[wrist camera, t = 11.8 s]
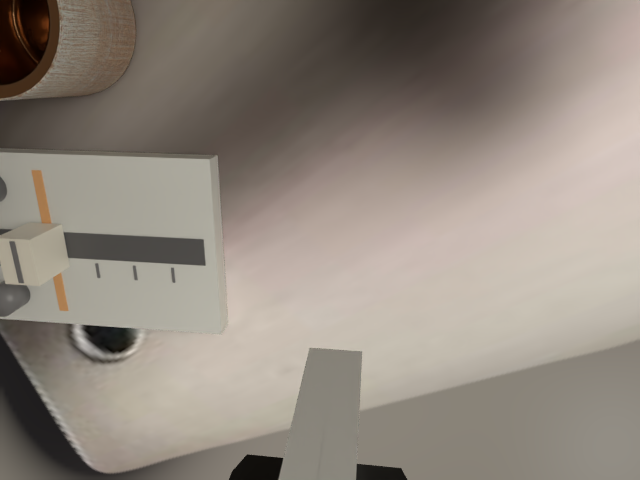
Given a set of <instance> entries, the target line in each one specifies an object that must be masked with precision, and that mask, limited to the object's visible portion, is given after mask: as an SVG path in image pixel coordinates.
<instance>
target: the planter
mask: <svg viewBox="0 0 640 480" xmlns="http://www.w3.org/2000/svg"><path fill="white" fill-rule="evenodd" d="M135 41H136V22H135V16H134V11H133V7H132V4H131V1H130V0H0V101H4V100H19V99H33V98H51V97H70V96H85V95H90V94H94V93H97V92H100V91H102V90H104V89H106V88H108V87H110V86H111V85H113V84H114V83H115V82H116V81H117V80H118V79H119V78H120V77H121V76H122V75H123V73H124V72H125V71H126V69H127V67H128V65H129V63H130V61H131V58H132V56H133V52H134V48H135Z"/></svg>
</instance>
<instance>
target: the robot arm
mask: <svg viewBox="0 0 640 480" xmlns="http://www.w3.org/2000/svg"><path fill="white" fill-rule="evenodd" d="M361 364H362V352H360V351H347V350H333V349H320V348H310V349H309V353H308V357H307V361H306V366H305V370H304V374H303V378H302V382H301V387H300V391H299V395H298V399H297V404H296V408H295V412H294V416H293V420H292V425H291V429H290V433H289V437H288V442H287V446H286V450H285V454H284V458H277V457H267V456H257V455H246V456H245V457H244V459H243V460H242V461H241V462H240V463H239V464H238V465H237V467H236V468H235V469H234V470H233V471H232V473H231V476H230V478H229V480H407V478H406V476H405V475H404V473H403V471H402V469H401V468H393V467H383V466H372V465H362V464H357V448H358V447H357V446H358V426H359V406H360V385H361Z"/></svg>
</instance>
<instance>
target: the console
mask: <svg viewBox="0 0 640 480" xmlns="http://www.w3.org/2000/svg"><path fill="white" fill-rule="evenodd" d="M29 222H30V223H50V224H62V227H63V233H64V238H65V243H66V249H67V254H68V260H69V265H70V267H69V268H67V269H66V270H64V271H62V272H61V273H59V274H58V275H56V276H55V277H53V278H51V279H50V280H48V281H47V282H45V283H44V284H42V285H41V286H30V285H15V284H5V280H4V276H3V272H2V268H1V264H0V319H13V320H26V321H40V322H54V323H68V324H82V325H95V326H109V327H123V328H137V329H151V330H164V331H178V332H192V333H206V334H220V335H222V333H223V332H224V330H225V328H226V326H227V325H228V312H227V296H226V280H225V264H224V248H223V233H222V217H221V201H220V185H219V169H218V155H201V154H170V153H139V152H109V151H78V150H47V149H17V148H0V235H2V234H4V233H7V232H9V231H11V230H13V229H16V228H18V227H20V226H23V225H25V224H27V223H29Z"/></svg>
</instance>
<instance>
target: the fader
mask: <svg viewBox="0 0 640 480" xmlns="http://www.w3.org/2000/svg"><path fill="white" fill-rule="evenodd" d="M0 264H1V268H2V272H3V276H4V280H5V284H15V285H30V286H41V285H42V284H44V283H45V282H47V281H48V280H50V279H51V278H53V277H55V276H56V275H58V274H59V273H61V272H62V271H64V270H66V269H67V268H69V267H70V265H69V260H68V254H67V249H66V243H65V238H64V233H63V227H62V224H50V223H30V222H29V223H27V224H25V225H23V226H20V227H18V228H16V229H13V230H11V231H9V232H7V233H4V234H2V235H0Z"/></svg>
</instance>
